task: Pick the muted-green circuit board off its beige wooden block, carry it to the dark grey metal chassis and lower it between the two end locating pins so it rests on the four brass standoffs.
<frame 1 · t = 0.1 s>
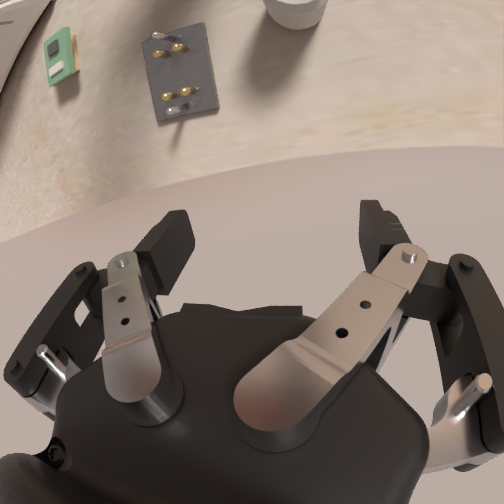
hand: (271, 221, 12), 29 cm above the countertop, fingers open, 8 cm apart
beige wooden block: (72, 55, 31), on the countertop
can: (296, 9, 25), on the countertop
toaster: (9, 43, 27), on the countertop
chassis: (180, 71, 33), on the countertop
board: (61, 56, 29), point 3 cm above the countertop, touching beige wooden block
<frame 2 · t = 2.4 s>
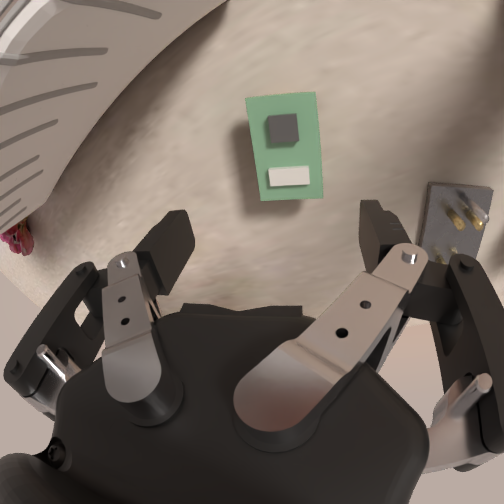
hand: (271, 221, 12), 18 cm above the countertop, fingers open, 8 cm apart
toaster: (85, 54, 23), on the countertop
flower: (27, 218, 41), on the countertop
chassis: (452, 234, 29), on the countertop
board: (287, 145, 24), point 3 cm above the countertop, touching beige wooden block
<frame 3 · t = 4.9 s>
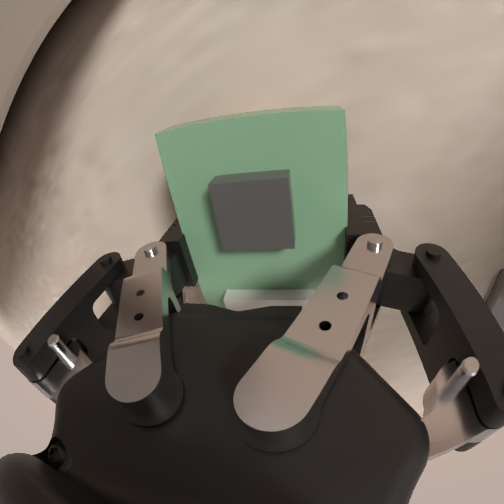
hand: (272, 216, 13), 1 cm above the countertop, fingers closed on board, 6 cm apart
board: (269, 234, 11), point 3 cm above the countertop, touching gripper, beige wooden block
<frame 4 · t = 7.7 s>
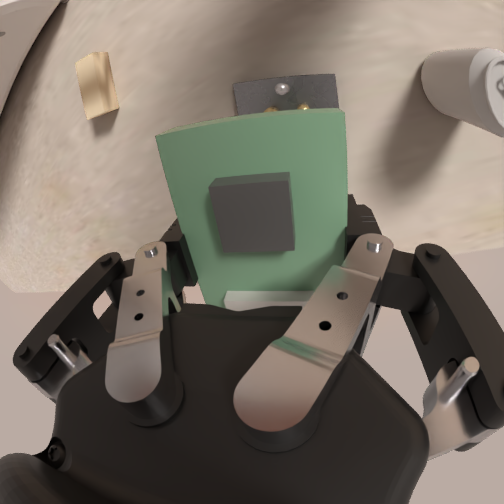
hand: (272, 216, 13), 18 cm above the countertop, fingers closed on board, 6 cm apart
beige wooden block: (104, 83, 25), on the countertop
can: (445, 83, 19), on the countertop
toaster: (3, 61, 21), on the countertop
chassis: (292, 141, 27), on the countertop
board: (269, 235, 11), point 19 cm above the countertop, touching gripper
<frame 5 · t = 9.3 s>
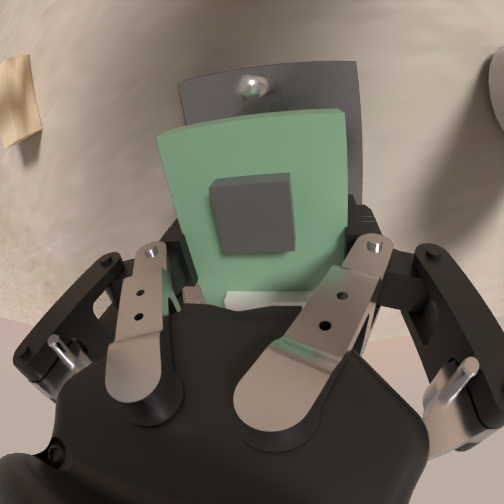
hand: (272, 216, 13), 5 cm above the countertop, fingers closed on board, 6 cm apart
beige wooden block: (26, 96, 15), on the countertop
chassis: (280, 176, 17), on the countertop
board: (269, 236, 11), point 7 cm above the countertop, touching gripper
when the fingers open (4 cm above the countertop, at t = 10.5 s): board drops 1 cm, resting on chassis.
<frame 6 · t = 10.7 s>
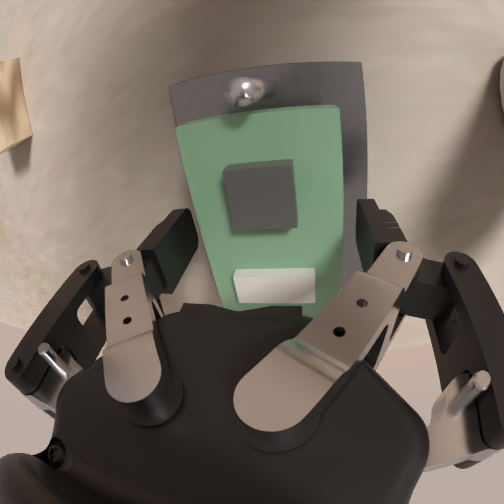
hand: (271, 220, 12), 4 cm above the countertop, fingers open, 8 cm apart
beige wooden block: (16, 101, 14), on the countertop
chassis: (279, 186, 16), on the countertop
board: (273, 219, 13), point 4 cm above the countertop, touching chassis
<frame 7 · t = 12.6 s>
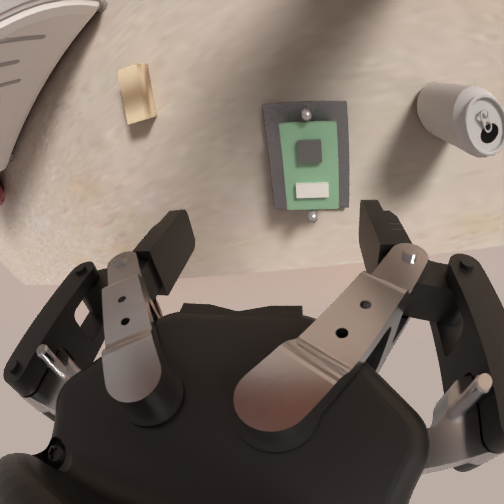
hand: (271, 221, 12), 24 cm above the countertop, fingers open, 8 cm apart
beige wooden block: (142, 92, 31), on the countertop
can: (437, 108, 25), on the countertop
toaster: (31, 61, 27), on the countertop
flower: (1, 178, 43), on the countertop
chassis: (309, 155, 33), on the countertop
board: (310, 164, 29), point 4 cm above the countertop, touching chassis
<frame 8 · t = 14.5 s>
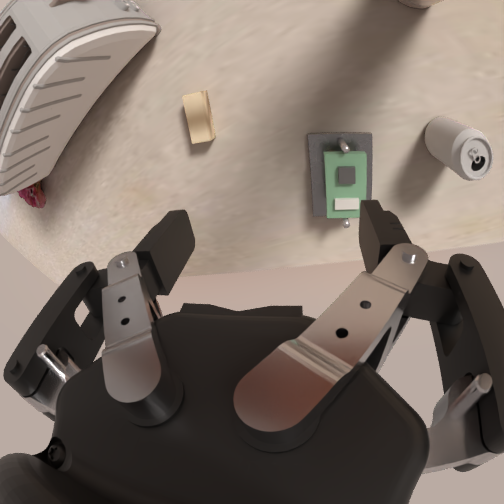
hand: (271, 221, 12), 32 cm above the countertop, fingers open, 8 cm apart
beige wooden block: (202, 115, 39), on the countertop
can: (440, 137, 34), on the countertop
toaster: (76, 73, 36), on the countertop
flower: (41, 181, 52), on the countertop
chassis: (341, 174, 41), on the countertop
board: (345, 183, 38), point 4 cm above the countertop, touching chassis
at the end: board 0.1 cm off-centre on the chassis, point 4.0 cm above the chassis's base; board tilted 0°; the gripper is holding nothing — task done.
